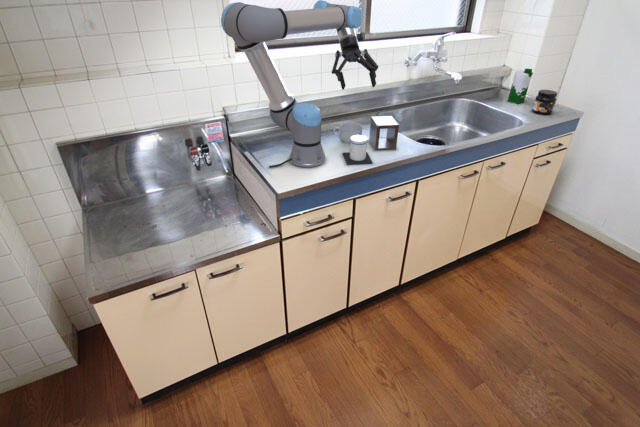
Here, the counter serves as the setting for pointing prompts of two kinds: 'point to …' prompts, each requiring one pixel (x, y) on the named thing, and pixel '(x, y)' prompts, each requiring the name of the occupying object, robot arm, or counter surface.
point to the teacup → (348, 130)
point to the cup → (358, 147)
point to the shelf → (392, 133)
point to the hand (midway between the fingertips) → (359, 86)
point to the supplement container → (544, 102)
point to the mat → (354, 162)
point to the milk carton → (520, 86)
